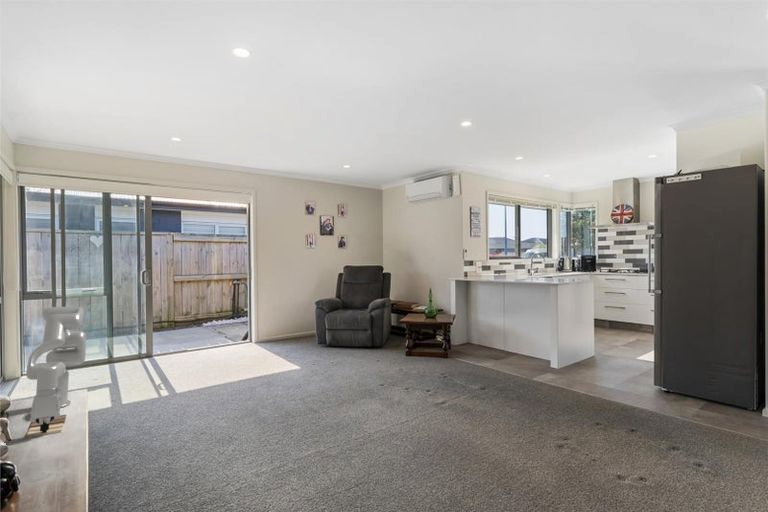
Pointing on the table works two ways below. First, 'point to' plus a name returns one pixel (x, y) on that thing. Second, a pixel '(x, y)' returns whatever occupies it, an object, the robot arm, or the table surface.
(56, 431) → the oak plank
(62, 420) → the walnut board
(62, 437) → the table surface
